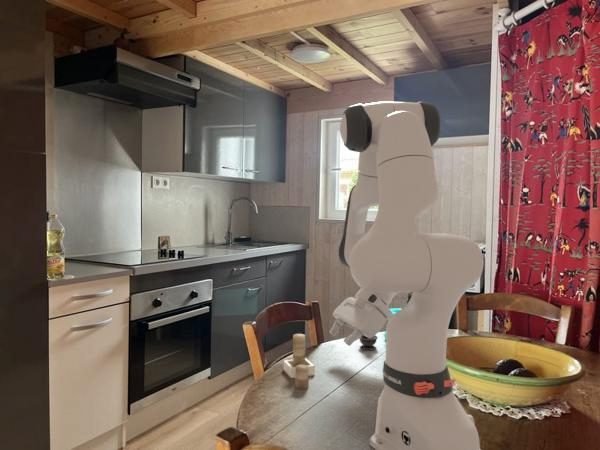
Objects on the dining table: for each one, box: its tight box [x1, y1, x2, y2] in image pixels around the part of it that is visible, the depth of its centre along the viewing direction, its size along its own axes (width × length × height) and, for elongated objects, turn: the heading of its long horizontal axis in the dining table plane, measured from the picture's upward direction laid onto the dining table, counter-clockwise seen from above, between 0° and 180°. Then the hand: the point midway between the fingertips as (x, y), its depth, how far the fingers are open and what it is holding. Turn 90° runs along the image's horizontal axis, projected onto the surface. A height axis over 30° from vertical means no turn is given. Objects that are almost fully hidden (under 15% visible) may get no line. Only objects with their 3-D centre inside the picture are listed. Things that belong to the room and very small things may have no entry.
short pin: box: [295, 365, 310, 391], centre depth 109 cm, size 3×3×5 cm
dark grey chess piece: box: [359, 335, 378, 352], centre depth 140 cm, size 6×6×12 cm
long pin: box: [292, 333, 306, 367], centre depth 119 cm, size 3×3×10 cm
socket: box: [283, 357, 315, 379], centre depth 119 cm, size 6×6×2 cm
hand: (338, 338), depth 123 cm, fingers open, 8 cm apart
